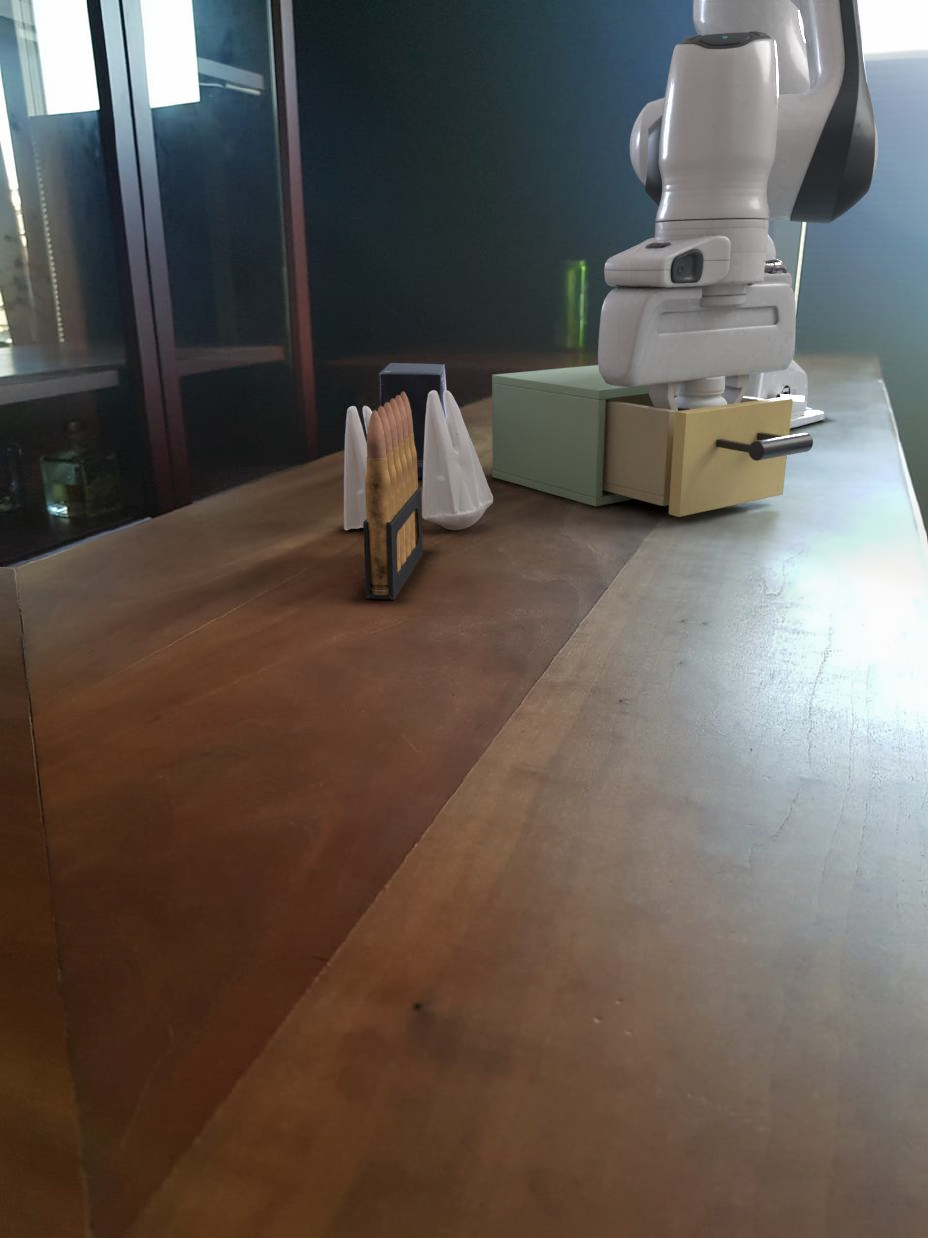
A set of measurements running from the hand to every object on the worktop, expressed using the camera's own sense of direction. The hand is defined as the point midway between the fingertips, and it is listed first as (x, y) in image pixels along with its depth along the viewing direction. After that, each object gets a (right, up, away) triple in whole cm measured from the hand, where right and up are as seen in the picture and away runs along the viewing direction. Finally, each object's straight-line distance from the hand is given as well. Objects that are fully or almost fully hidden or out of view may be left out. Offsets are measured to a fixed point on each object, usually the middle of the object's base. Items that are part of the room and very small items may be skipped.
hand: (696, 432), depth 81 cm
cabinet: (-7, -2, +12) cm, 14 cm away
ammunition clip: (-25, -13, -15) cm, 32 cm away
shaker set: (-24, -9, -3) cm, 25 cm away
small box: (-25, 0, +19) cm, 31 cm away
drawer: (0, -5, +2) cm, 5 cm away
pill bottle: (0, -4, +1) cm, 4 cm away
